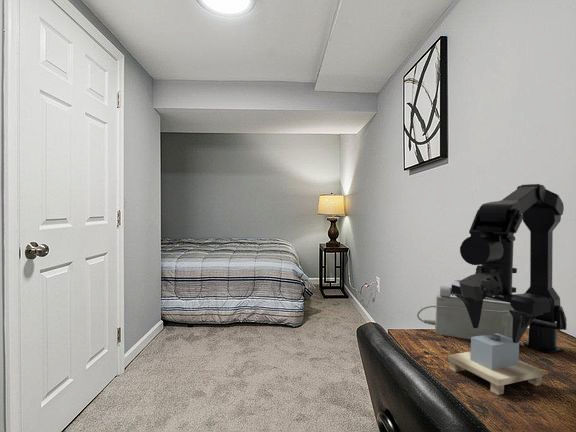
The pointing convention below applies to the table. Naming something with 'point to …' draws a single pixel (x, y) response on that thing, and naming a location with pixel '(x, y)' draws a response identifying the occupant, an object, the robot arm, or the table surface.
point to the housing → (494, 351)
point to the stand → (497, 372)
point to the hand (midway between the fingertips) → (494, 334)
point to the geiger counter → (457, 321)
